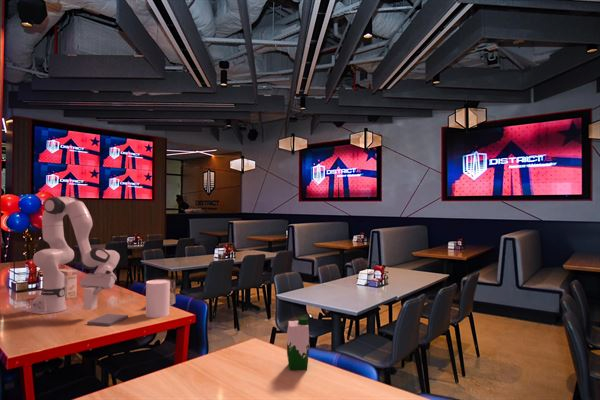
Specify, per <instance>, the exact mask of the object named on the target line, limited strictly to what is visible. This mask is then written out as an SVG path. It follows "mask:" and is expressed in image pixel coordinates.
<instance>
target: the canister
mask: <svg viewBox="0 0 600 400" xmlns="http://www.w3.org/2000/svg"><path fill="white" fill-rule="evenodd" d="M169 280H170V279H151V280H147V281H146V282H145V283H146V285H145V317H146V318H153V319H159V318H164V317H167V316H169V315H170V306H169V305H170V281H169Z"/></svg>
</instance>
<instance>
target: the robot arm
mask: <svg viewBox="0 0 600 400" xmlns="http://www.w3.org/2000/svg"><path fill="white" fill-rule="evenodd" d="M43 209H44V211H43V213H42V219H41V225H42V227H41V228H42V239H43V241H44V242H46V243H47V244H48V245H49V247H50V248H44V249H41V250H39V251H37V252H35V253H34V255H33V256H32V257H33V258H32V261H33V264H34V265H35V266H36V267H38V268H39V270H40V271H41V275H42V277H43V284H42V285H43V288H41V289H40V294H39V295H38V296H37V297H36V298H34V299H33V300H31V303H30V308H27V309H26V310H25V313H31V314H36V315H37V314H38V315H45V314H53V313H59V312H64V311H66V310H67V308H68V307H67V303H66V299H65V295H64V294H65V286H64V274H63V273H62V272H60V271H59V265H65V264H68V263H70V262H72V261H73V260H74V258H75V251H74V250H73V249H72V248H71V247H70V246H69V244H68V243H67V241H66V239H65V233H64V221H63V219H64V216H67V217H68V218H69V220H70V222H71V223H70V224H71V225H72V229H73V231H74V235H75V240H76V244H77V247H78V249H79V253H80V264H81V266H82V267H83V268H84V269H86V270H93V269H94V270H95V271H94V273H87V274H85V275H84V276H83V277H82V278H81V280H80V282H79V284H78V285H79V287H81V288H84V289H85V288H88V287H98V290H96V291H94V293H93V294H94V295H97V294H99V293H101V292H102V291H103V290H108V291H109V290H111V289H113V287H114V285H115V283H116V281H117V276H116V274H115V273H114V272H113V271H114V269H115V268H116V267H117V265H118V264H119V261H120V258H121V256H120V253H119V252H117V251H116V250H113V249H104V248H102V247H100V246H96V247H93V248H92V247H91V244H90V241H89V235H90V232H91V231H92V228H93V225H94V224H93V219H92V215H91V214H90V211H89V210H88V208H87V206H86V205H85V203H84V202H83V201H82V200H79V199H78V198H76V197H73V196H71V197H69V196H51V197H48V198H46V199H45V201H44V204H43ZM96 267H97V268H96ZM95 268H96V269H95Z"/></svg>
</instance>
